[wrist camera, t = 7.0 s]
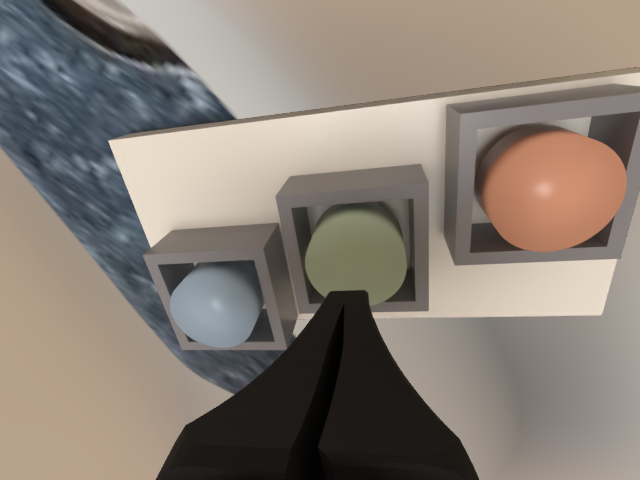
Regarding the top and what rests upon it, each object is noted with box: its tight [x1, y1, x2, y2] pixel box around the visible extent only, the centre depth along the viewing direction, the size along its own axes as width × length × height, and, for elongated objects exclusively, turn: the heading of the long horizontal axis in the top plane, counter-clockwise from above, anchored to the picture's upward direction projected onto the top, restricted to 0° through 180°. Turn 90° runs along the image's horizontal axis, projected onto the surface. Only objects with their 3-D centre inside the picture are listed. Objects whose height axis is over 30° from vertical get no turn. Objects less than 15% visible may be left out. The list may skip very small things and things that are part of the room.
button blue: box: [170, 260, 265, 348], centre depth 19 cm, size 4×4×2 cm
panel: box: [108, 67, 640, 350], centre depth 18 cm, size 12×25×5 cm, turn 98°
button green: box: [305, 202, 407, 306], centre depth 16 cm, size 4×4×2 cm
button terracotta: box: [475, 125, 627, 252], centre depth 14 cm, size 4×4×2 cm
